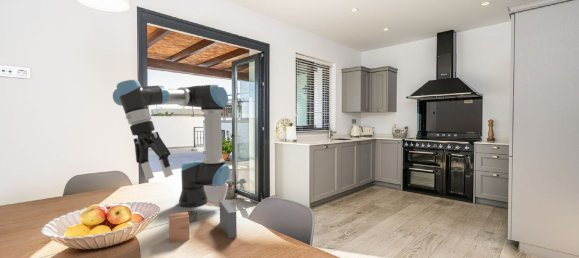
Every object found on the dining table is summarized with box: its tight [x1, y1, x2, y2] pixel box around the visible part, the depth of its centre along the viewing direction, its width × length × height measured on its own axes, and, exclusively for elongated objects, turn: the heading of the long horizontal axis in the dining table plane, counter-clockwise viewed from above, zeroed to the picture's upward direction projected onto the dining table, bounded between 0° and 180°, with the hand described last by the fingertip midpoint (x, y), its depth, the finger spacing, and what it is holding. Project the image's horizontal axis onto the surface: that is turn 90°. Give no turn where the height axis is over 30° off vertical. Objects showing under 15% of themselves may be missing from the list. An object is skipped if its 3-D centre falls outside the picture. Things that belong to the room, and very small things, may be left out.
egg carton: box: [181, 208, 200, 223], centre depth 125 cm, size 11×8×4 cm
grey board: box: [219, 199, 238, 239], centre depth 115 cm, size 18×3×10 cm, turn 25°
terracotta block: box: [168, 211, 190, 244], centre depth 107 cm, size 6×7×9 cm
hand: (159, 177), depth 101 cm, fingers open, 13 cm apart
